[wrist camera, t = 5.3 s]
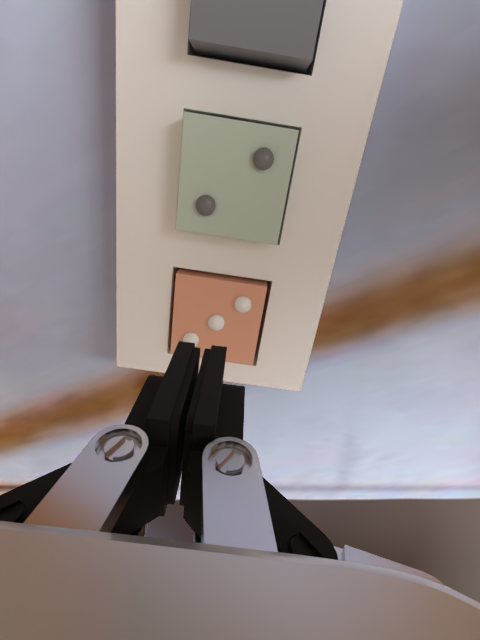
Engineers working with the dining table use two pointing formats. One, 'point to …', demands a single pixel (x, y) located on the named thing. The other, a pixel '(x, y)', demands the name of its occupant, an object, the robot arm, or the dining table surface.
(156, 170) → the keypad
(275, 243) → the tile two
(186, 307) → the tile three
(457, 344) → the dining table surface
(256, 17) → the tile one
